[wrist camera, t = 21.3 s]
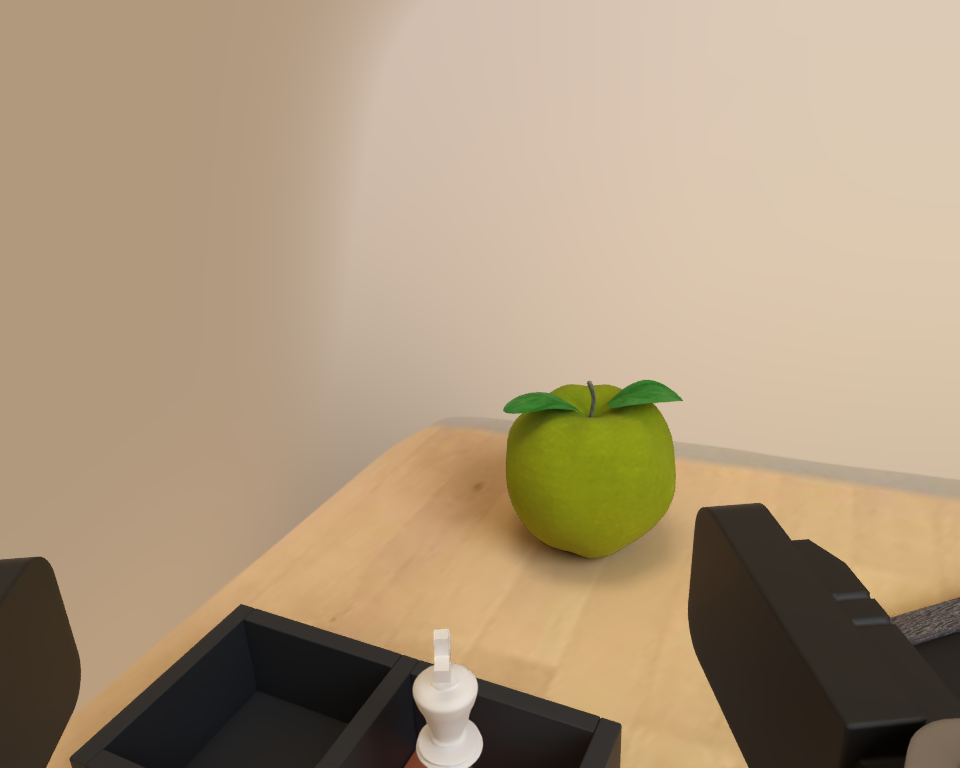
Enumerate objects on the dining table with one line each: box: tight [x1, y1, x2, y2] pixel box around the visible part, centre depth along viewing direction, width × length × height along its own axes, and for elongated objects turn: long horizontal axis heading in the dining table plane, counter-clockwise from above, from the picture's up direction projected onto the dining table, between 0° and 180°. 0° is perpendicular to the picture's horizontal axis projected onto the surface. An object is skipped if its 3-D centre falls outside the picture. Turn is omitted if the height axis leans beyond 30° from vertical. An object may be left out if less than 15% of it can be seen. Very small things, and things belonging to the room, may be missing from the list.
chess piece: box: [413, 629, 483, 768], centre depth 26 cm, size 5×5×10 cm
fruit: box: [503, 380, 683, 558], centre depth 45 cm, size 9×9×10 cm
